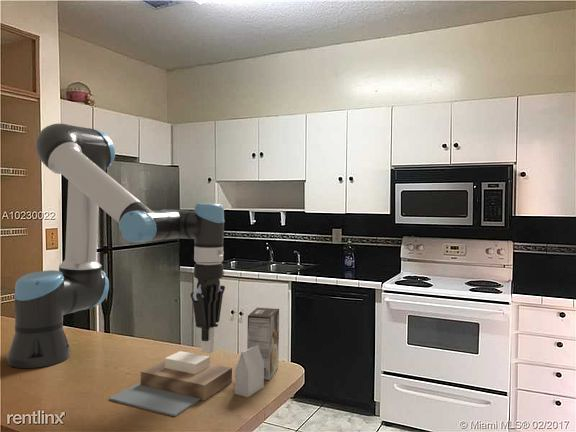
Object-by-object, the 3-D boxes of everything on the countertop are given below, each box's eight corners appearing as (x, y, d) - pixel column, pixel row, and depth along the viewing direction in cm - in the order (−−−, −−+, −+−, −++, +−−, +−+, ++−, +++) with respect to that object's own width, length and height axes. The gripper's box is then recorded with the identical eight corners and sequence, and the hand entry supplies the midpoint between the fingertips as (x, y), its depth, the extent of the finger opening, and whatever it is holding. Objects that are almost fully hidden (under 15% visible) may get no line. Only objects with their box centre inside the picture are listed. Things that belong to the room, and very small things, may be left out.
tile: (164, 367, 115) (164, 358, 115) (179, 360, 120) (180, 351, 120) (195, 374, 111) (195, 364, 111) (209, 366, 117) (209, 356, 117)
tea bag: (263, 387, 113) (264, 346, 113) (247, 397, 108) (248, 354, 107) (250, 383, 115) (251, 343, 115) (234, 393, 109) (235, 351, 109)
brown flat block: (140, 386, 112) (140, 371, 112) (172, 369, 123) (172, 356, 123) (204, 400, 105) (204, 385, 105) (231, 381, 116) (232, 367, 116)
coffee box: (255, 365, 128) (256, 306, 127) (278, 367, 126) (280, 308, 126) (246, 378, 119) (247, 315, 118) (270, 380, 117) (272, 316, 117)
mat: (109, 399, 104) (109, 397, 104) (136, 385, 112) (136, 383, 112) (175, 416, 97) (175, 414, 97) (199, 400, 105) (199, 398, 105)
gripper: (207, 267, 115) (205, 362, 116) (234, 260, 127) (232, 347, 128) (181, 264, 118) (180, 357, 119) (210, 258, 130) (209, 343, 131)
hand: (207, 351), depth 124 cm, fingers closed
